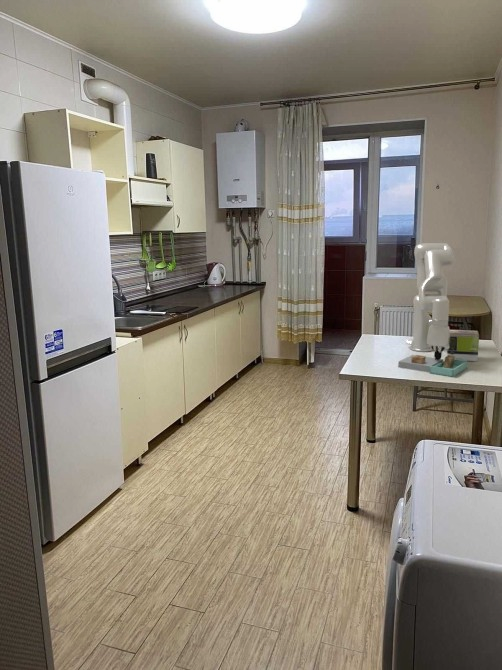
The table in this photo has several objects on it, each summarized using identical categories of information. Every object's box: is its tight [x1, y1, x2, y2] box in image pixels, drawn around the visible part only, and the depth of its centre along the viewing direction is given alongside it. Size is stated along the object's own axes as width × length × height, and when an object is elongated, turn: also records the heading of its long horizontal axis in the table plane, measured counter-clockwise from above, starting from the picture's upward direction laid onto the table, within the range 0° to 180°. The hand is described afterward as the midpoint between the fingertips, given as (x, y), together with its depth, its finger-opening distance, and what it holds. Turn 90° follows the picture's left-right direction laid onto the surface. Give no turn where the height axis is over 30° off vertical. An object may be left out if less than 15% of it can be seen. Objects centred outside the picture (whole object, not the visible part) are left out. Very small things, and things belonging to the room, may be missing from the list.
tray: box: [429, 359, 469, 378], centre depth 250 cm, size 11×20×4 cm, turn 140°
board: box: [398, 354, 444, 373], centre depth 259 cm, size 16×17×3 cm
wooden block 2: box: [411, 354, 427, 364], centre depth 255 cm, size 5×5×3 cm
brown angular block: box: [443, 355, 455, 368], centre depth 254 cm, size 5×5×3 cm
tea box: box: [446, 329, 480, 362], centre depth 271 cm, size 15×10×15 cm
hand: (437, 359), depth 257 cm, fingers closed
